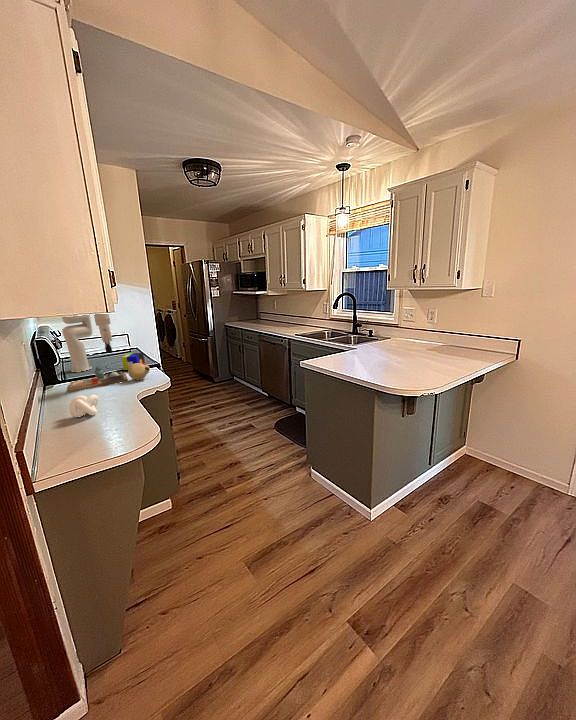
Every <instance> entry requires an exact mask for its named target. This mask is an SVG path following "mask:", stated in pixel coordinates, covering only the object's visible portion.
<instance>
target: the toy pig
mask: <svg viewBox="0 0 576 720" xmlns="http://www.w3.org/2000/svg"><path fill="white" fill-rule="evenodd" d="M150 370H151V368H150V366H149V365H147V364H145V365H143V364H140V363H135V364H132V365H131V366H130V367H129V370H128V371H127V372H128V376H129V377H130V378H131V380H132V381H135V380H136V381H137V380H139V381H144V378H146V377H147V375H148V374H149V373H150V372H151V371H150Z"/></svg>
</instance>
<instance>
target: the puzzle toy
mask: <svg viewBox="0 0 576 720" xmlns="http://www.w3.org/2000/svg"><path fill="white" fill-rule="evenodd" d="M144 355H145V354H144V352H135V353H134V352H131V353H126V354H125V355H123V356H122V357H121V361H122V365H123V371H124V370H129V367H130V366H131V365H132V364H135V363H140V364H143V365H146V361H145V356H144Z"/></svg>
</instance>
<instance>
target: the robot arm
mask: <svg viewBox="0 0 576 720" xmlns="http://www.w3.org/2000/svg"><path fill="white" fill-rule="evenodd" d="M90 315H91V314H89V315H82V316H73V317H62V316H61V318H62V321H63V323H64V324H65V325H66V324H68V325H67V326H65V327H63V328H62V330H61V332H62V336H63V337H64V340H65V343H66V346H67V349H68V352H69V357H70V363H71V365H72V369H71V370H70V372H71V373H73V372H77V373H82V372H81V371H84V372H87V371H86V370H88V371H90V370H92V368H93V367H92V365H90V364H89V361H88V358H87V353H86V347H85V344H84V343H83V342H82V341H81V340H79V339H83V338H84V339H85V338H89V337H92V335H93V334H94V333H93V325H92V320H91V316H90ZM93 317H94V322H95V323H94V324H95V326H96V327H98V329H99V333H100V336H101V341H102V342H103V343H104V349H105V354H112V353H113V349H112V345H111V342H113V337H112V336H113V335H112V332H111V327H110V325H111V318H110V313H109V314H95V315H94V314H93ZM71 324H72V325H71ZM89 369H90V370H89Z"/></svg>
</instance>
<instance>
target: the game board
mask: <svg viewBox="0 0 576 720" xmlns="http://www.w3.org/2000/svg"><path fill="white" fill-rule="evenodd" d="M116 372H117V373H118V374H119V375H117V376H111V377H109V375H110V374H111V373H112V372H110V373H106V374H105V373H104V377H105V378H103V379H97V377H96V376H95V377H90V378H85V379H80V380H74V381H70V385H69V390H68V392H69V394H70V393H71V394H72V393H75V392H81V391H84V390H85V389H86V390H91V389H97V388H101V387H107V386H111V385H115V383H117V384H120V382H122V383H125V382H126V381H127V382H129V379H128V376H127V374H126V371H122V370H121V371H116ZM110 384H111V385H110ZM80 390H81V391H80Z"/></svg>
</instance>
